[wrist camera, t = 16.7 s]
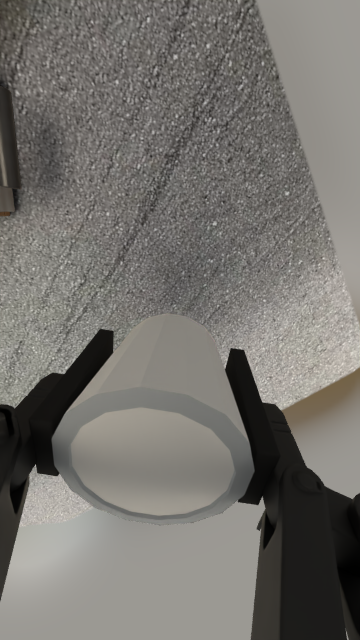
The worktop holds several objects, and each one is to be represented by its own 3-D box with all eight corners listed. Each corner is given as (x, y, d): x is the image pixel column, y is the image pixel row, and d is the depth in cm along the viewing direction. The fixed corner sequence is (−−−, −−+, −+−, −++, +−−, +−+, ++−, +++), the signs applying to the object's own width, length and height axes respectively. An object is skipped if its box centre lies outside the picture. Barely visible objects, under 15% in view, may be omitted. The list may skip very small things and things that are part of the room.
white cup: (175, 417, 16) (161, 548, 10) (91, 357, 15) (13, 467, 8) (253, 356, 14) (301, 476, 8) (164, 276, 12) (132, 345, 6)
